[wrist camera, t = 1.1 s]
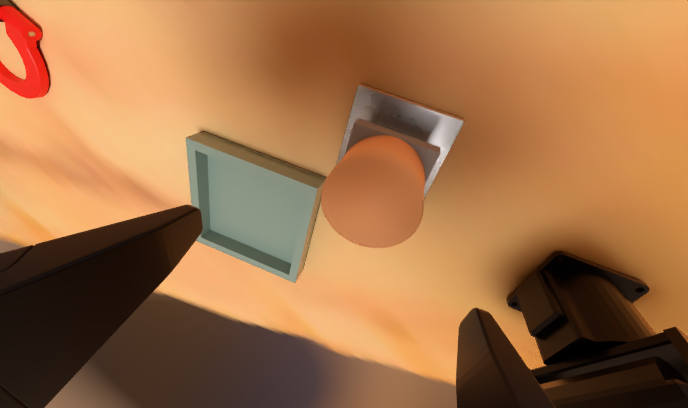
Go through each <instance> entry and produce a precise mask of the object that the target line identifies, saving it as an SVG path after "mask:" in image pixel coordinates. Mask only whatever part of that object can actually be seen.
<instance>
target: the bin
mask: <svg viewBox="0 0 688 408" xmlns="http://www.w3.org/2000/svg"><path fill="white" fill-rule="evenodd" d="M186 146H187V157H188V169H189V180H190V191H191V202H192V206H194V207H197V208H199V209H200V210H201V215H202V223H203V230H202V232H201V234H200V236H199V237H198V238H197V240H196V241H198V242H200V243H202V244H205V245H207V246H209V247H212V248H214V249H216V250H219V251H221V252H223V253H226V254H228V255H230V256H233V257H235V258H237V259H240V260H242V261H244V262H247V263H249V264H251V265H254V266H256V267H258V268H261V269H263V270H266V271H268V272H270V273H273V274H275V275H277V276H280V277H282V278H284V279H287V280H289V281H291V282H294V283H296V281H297V279H298V277H299V276H300V274H301V272H302V271H303V268H304V264H305V260H306V256H307V252H308V248H309V244H310V240H311V236H312V232H313V228H314V225H315V221H316V217H317V213H318V209H319V205H320V201H321V192H322V187H323V184H324V182H325V180H326V178H325V177H322V176H320V175H317V174H314V173H312V172H309V171H307V170H304V169H301V168H299V167H296V166H293V165H291V164H288V163H286V162H283V161H280V160H278V159H275V158H273V157H270V156H267V155H265V154H262V153H259V152H257V151H254V150H252V149H249V148H246V147H244V146H241V145H238V144H236V143H233V142H231V141H228V140H225V139H223V138H220V137H218V136H215V135H212V134H210V133H207V132H204V131H202V132H200V133H197V134H194V135H192V136H189V137H186Z"/></svg>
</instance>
